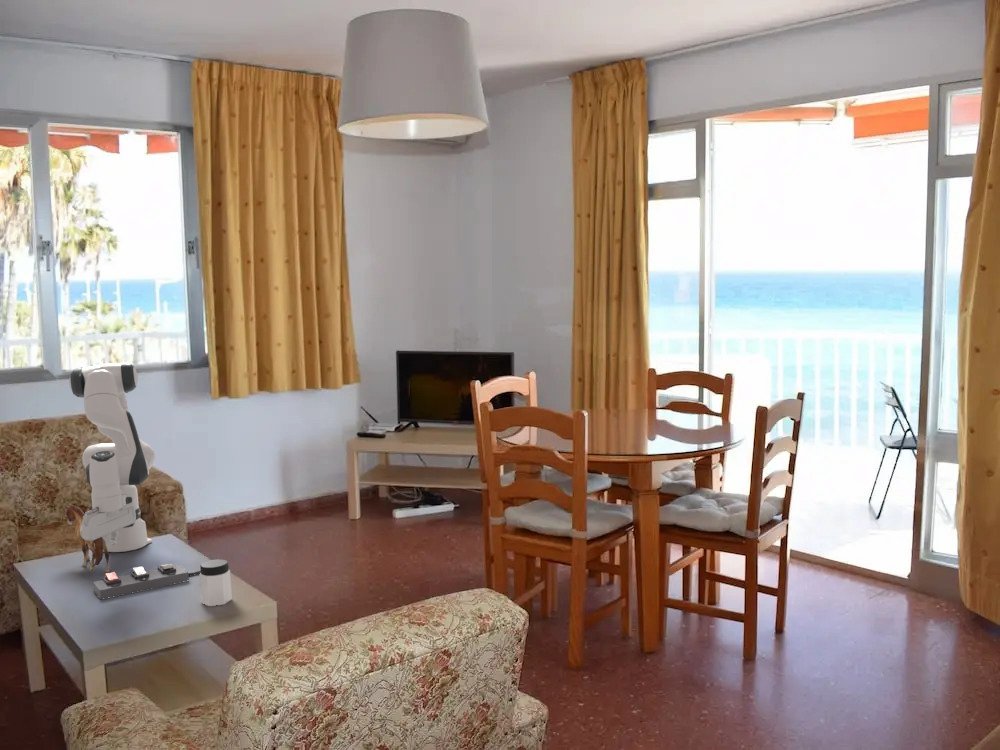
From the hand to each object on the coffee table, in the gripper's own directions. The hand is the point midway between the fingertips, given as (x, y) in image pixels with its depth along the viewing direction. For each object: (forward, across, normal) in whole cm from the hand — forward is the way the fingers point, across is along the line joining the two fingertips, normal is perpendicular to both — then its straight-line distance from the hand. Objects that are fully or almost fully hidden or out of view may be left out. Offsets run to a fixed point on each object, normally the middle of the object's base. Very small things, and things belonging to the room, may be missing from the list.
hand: (111, 545), depth 294 cm
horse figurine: (+15, +12, +24) cm, 31 cm away
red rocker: (+10, -2, -1) cm, 10 cm away
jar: (+14, -2, -40) cm, 42 cm away
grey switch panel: (+14, +7, -9) cm, 18 cm away
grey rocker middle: (+10, +5, -6) cm, 13 cm away
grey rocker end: (+11, +12, -11) cm, 19 cm away
